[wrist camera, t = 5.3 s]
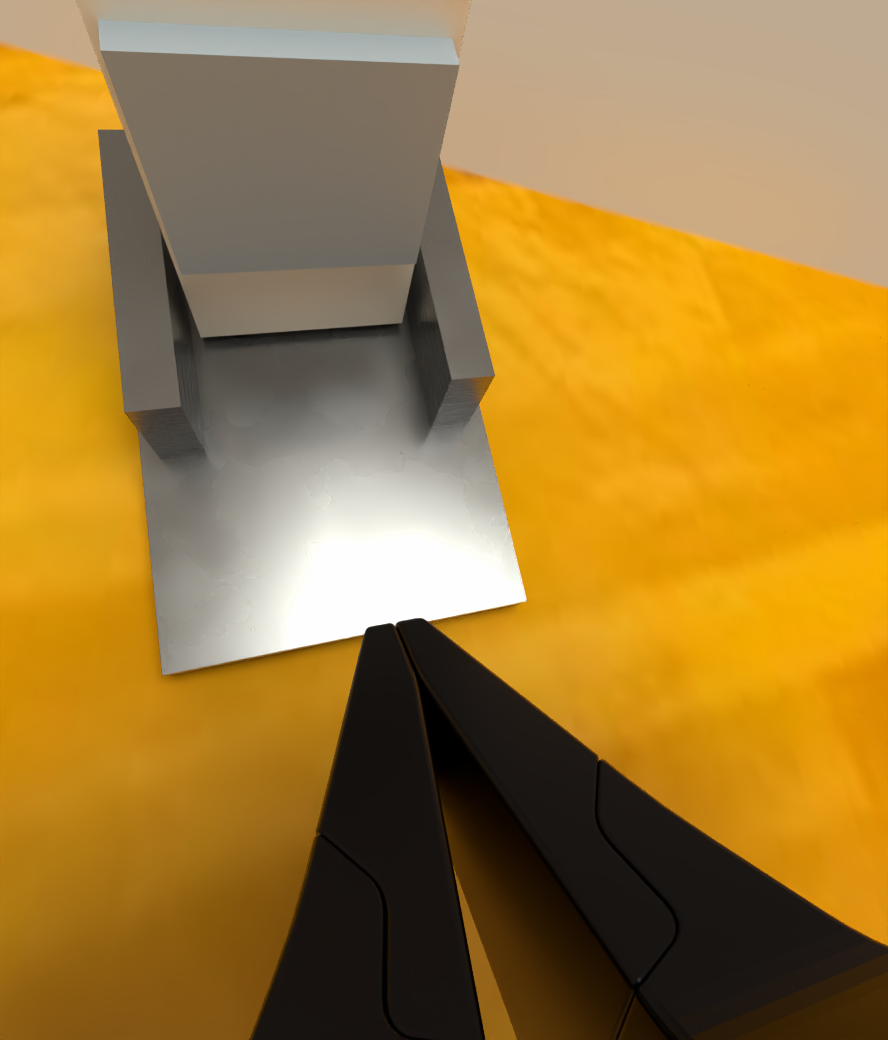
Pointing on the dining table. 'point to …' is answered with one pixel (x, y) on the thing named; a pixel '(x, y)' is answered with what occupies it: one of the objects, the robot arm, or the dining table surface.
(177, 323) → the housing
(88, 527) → the dining table surface
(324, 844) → the robot arm
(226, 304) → the white rectangular block
